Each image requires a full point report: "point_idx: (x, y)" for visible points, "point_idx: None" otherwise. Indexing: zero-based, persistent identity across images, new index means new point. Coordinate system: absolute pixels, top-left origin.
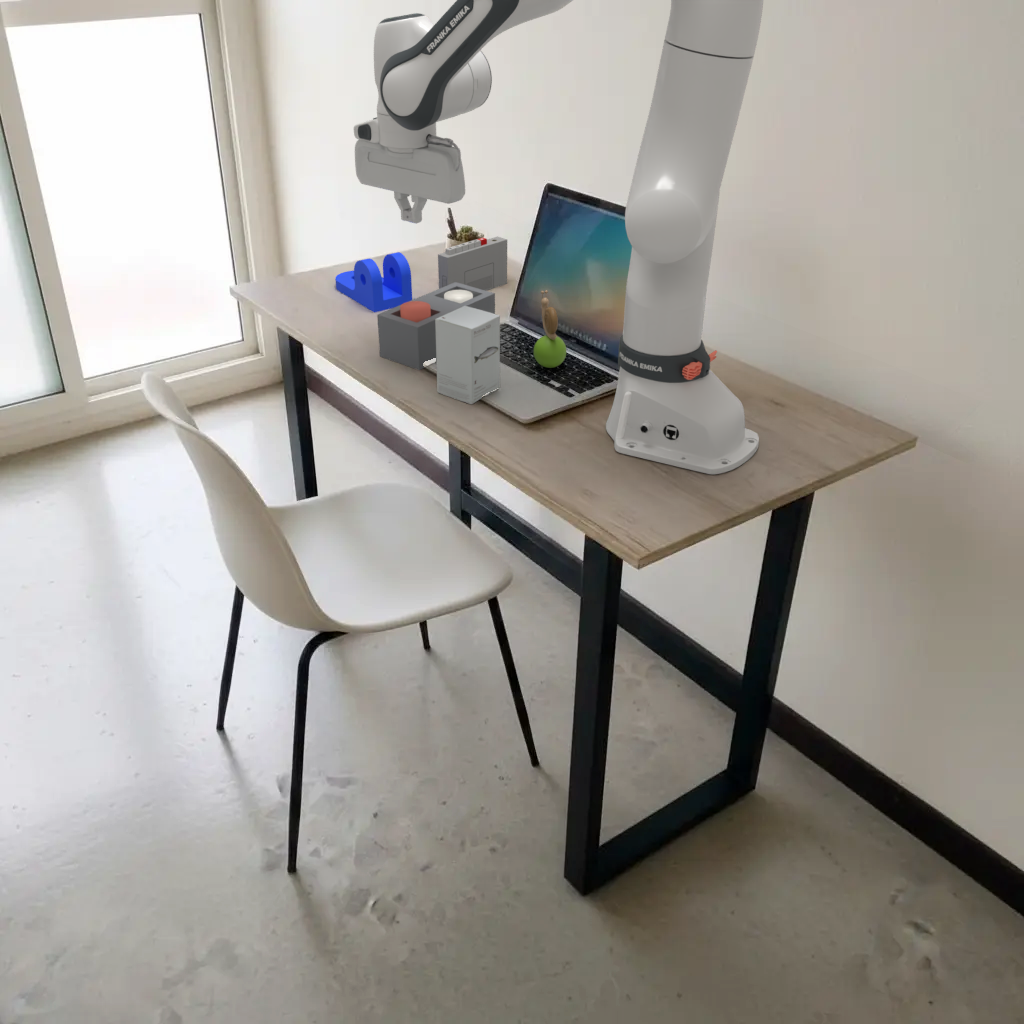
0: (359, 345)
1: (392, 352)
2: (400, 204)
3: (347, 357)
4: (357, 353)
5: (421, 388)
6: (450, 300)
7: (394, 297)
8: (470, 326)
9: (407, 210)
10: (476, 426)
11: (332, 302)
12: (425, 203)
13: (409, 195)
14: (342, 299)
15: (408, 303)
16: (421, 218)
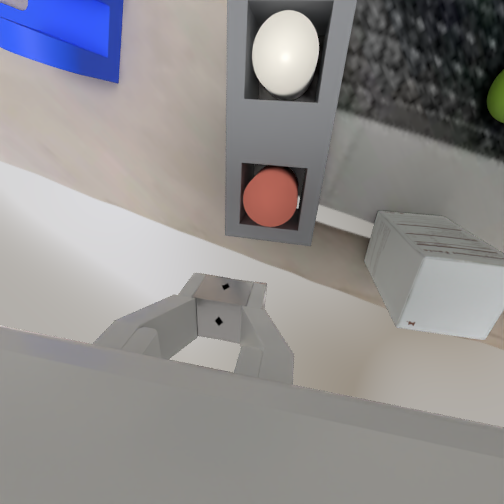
0: (196, 199)
1: None
2: (173, 352)
3: (211, 235)
4: (212, 220)
5: (339, 259)
6: (285, 93)
7: (108, 28)
8: (479, 334)
9: (210, 330)
10: None
11: (46, 91)
12: (283, 339)
13: (155, 333)
14: (43, 68)
15: (250, 195)
16: (265, 289)
